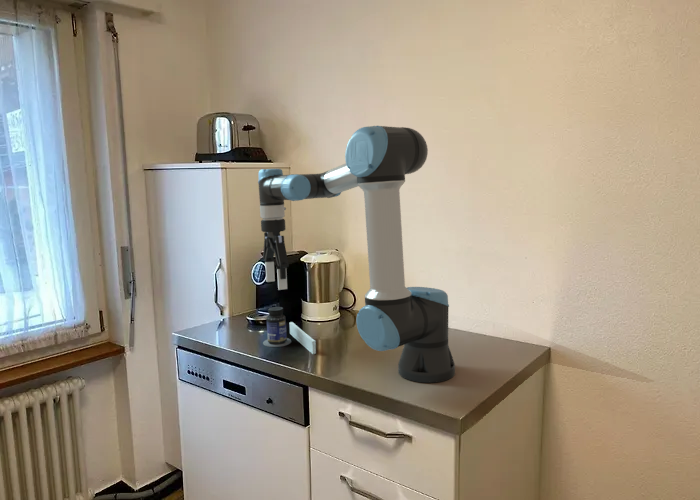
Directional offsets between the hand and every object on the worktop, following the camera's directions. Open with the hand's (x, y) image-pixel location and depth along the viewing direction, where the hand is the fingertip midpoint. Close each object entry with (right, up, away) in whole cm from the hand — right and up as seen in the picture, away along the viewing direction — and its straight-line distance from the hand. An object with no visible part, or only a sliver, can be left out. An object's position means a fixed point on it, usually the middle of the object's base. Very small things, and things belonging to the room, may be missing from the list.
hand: (276, 285), depth 170 cm
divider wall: (+8, -19, +1) cm, 20 cm away
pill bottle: (0, -19, +3) cm, 19 cm away
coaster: (0, -19, +3) cm, 19 cm away
